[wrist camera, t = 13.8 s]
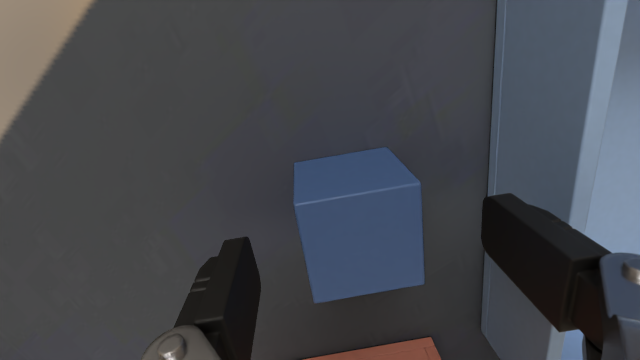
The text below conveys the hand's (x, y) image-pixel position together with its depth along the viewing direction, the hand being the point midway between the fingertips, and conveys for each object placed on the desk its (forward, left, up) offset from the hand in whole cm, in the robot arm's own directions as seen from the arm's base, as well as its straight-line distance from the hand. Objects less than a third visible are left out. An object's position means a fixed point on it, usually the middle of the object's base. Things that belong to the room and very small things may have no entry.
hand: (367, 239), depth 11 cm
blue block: (0, 0, -4) cm, 4 cm away
